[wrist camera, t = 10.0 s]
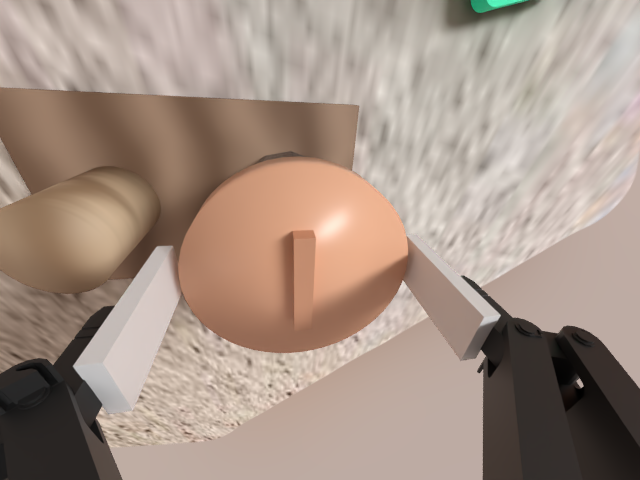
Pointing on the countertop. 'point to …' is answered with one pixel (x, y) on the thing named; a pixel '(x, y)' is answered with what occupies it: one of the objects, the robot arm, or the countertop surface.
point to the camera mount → (492, 4)
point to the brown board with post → (135, 172)
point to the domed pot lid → (292, 256)
